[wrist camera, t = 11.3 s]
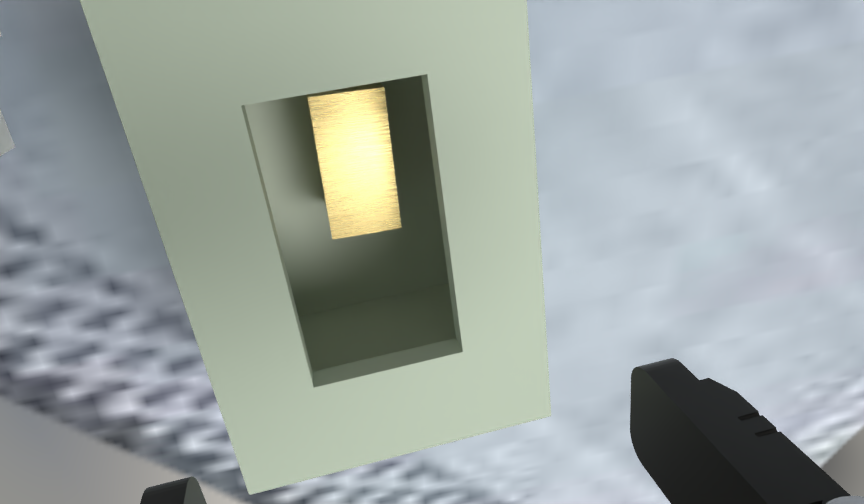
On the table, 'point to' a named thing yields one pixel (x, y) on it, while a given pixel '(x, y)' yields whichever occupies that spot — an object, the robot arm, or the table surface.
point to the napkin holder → (5, 135)
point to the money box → (309, 226)
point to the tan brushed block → (355, 159)
